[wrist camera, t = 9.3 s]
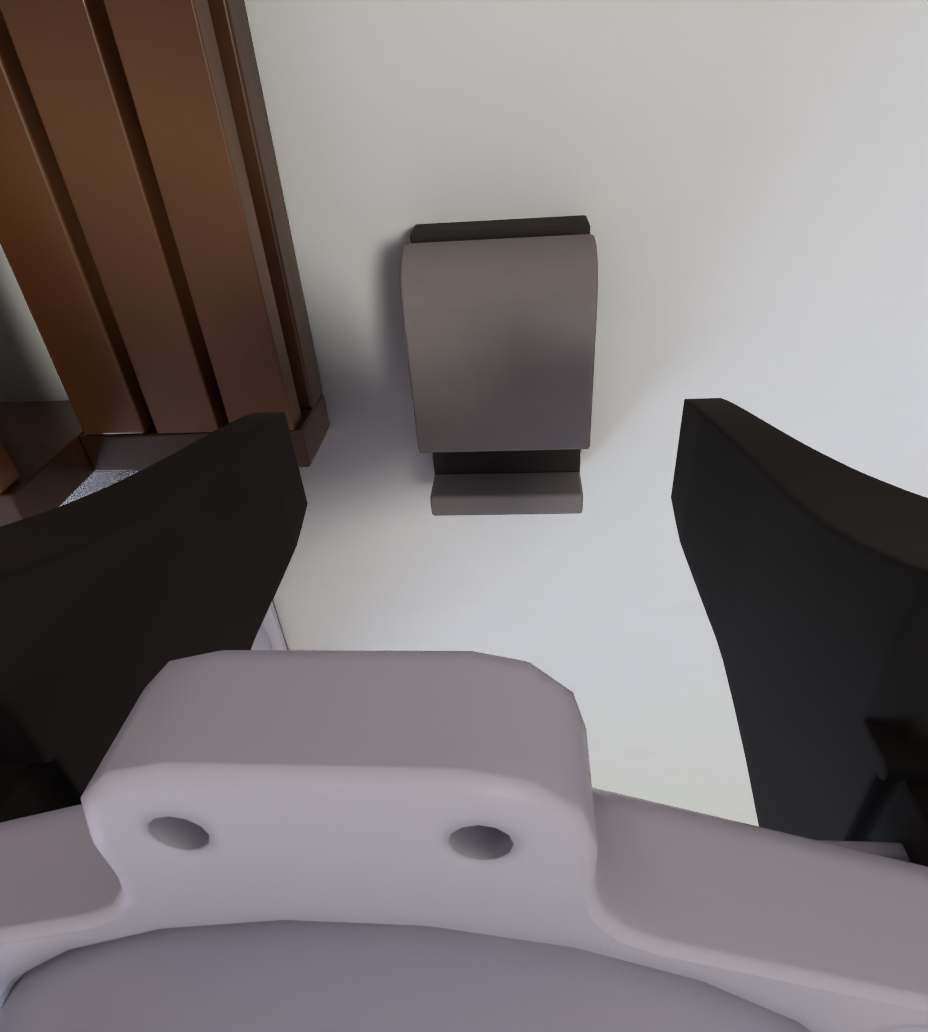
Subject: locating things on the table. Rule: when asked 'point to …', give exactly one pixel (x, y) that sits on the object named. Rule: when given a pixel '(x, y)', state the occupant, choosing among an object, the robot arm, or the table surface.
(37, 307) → the shoe rack
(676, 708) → the table surface
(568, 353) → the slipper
